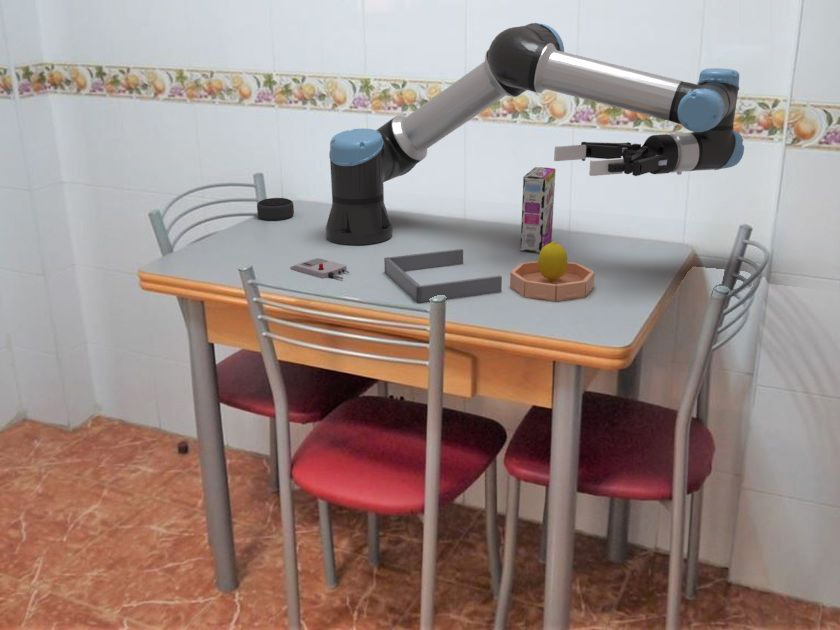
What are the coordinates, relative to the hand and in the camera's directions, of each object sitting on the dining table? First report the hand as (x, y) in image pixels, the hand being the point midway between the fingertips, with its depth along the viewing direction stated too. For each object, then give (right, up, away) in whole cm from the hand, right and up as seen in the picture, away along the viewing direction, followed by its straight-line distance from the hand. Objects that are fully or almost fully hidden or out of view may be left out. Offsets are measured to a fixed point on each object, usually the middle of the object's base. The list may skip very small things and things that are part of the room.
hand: (572, 160), depth 174 cm
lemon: (-3, -23, +3) cm, 23 cm away
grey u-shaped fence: (-24, -22, +7) cm, 34 cm away
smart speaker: (-64, -5, +56) cm, 85 cm away
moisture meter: (-48, -21, +15) cm, 55 cm away
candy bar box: (-3, -14, +30) cm, 33 cm away
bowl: (-3, -24, +3) cm, 24 cm away
